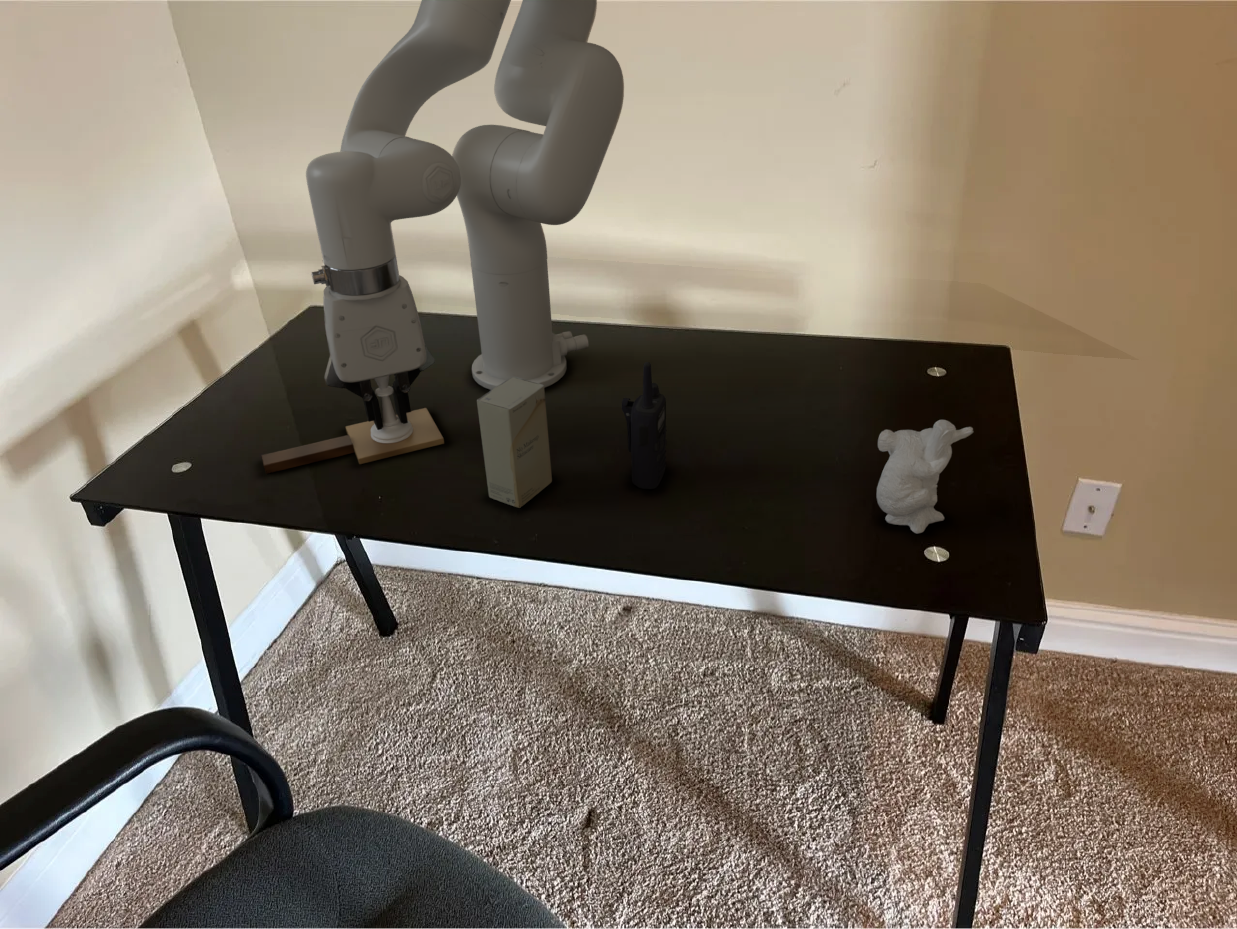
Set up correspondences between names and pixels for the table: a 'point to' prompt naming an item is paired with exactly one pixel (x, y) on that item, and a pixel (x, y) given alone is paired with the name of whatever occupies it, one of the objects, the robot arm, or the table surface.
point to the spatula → (358, 444)
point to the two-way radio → (647, 433)
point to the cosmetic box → (515, 441)
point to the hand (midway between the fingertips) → (390, 420)
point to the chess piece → (389, 417)
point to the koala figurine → (915, 473)
